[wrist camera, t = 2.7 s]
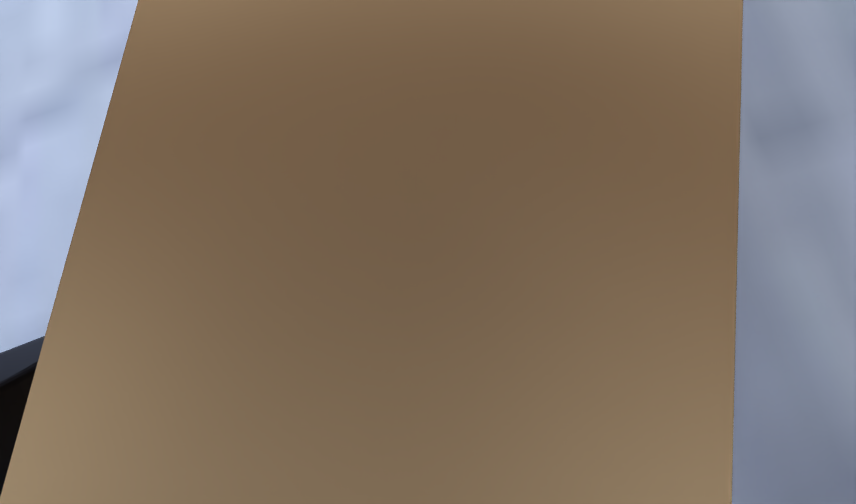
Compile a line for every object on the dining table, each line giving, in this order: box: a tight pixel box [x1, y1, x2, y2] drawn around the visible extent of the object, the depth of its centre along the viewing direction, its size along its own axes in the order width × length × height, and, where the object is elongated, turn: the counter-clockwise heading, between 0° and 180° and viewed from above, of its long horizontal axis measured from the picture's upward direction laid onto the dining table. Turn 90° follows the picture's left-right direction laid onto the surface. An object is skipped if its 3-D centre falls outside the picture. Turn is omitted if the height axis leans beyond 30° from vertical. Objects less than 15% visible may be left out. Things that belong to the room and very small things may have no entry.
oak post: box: [0, 0, 743, 504], centre depth 10 cm, size 4×4×12 cm
